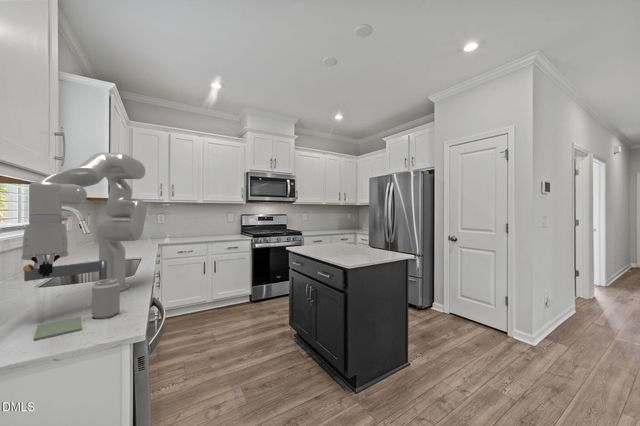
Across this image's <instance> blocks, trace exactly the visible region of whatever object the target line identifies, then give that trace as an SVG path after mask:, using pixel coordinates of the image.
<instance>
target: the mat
mask: <svg viewBox="0 0 640 426" xmlns="http://www.w3.org/2000/svg"><path fill="white" fill-rule="evenodd" d="M79 331H83V325H82V317H81V316H78V317H71V318H67V319H61V320H58V321H52V322H46V323H42V324H37V326H36V329H35V333H34V336H33V341H35V340H36V341H40V340H45V339H48V338H53V337H57V336H62V335H66V334H70V333H74V332H76V333H77V332H79Z"/></svg>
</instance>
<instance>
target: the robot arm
mask: <svg viewBox="0 0 640 426" xmlns="http://www.w3.org/2000/svg"><path fill="white" fill-rule="evenodd" d="M145 175H146V167H145V166H144V164H143V163H142V162H141V161H139V160H137V159H136V158H134V157H132V156H130V155H128V154H125V153H122V152H121V153H120V152H118V153H117V152H98V153H95V154H94V155H92V156H90V157H89V158H88V159H87V160H85V161H84V162H83V163H82V164H79V165H78V166H76V167H72V168H69V169H66V170H63V171H61V172H56V173H54V174H51V175H49V176H47V177H45V178H44V179H42V180H41V181H32V182H31V183H30V184H29V185H28V224H25V226H24V231H23V238H22V239H23V240H22V256H21V260H24V261H32V262H34V263H36V264H37V265H39V267H38V268H39V274H42V277H45V276H47V277H48V276H49V275H50V273H52V272H53V266H54V264H53V263H55V262H56V261H57V260H59V259H61V258H62V259H63V258H65V257H68V256H69V252H68V233H67V227H66V224H65V223H63V222H64V221H68V215H67V216H66V215H63V214H62V213H63V212H62V211H63V210H62V209H63V207H62V206H77V205H81V204H83V203H84V202H85V201H86V200H87V198H88V193H87V191H86V189H85V188H86V187H87V188H88V187H90V186H94V185H97V184H99V183H100V182H101V181H103V179H105V178H106V181H107V183H108V184H109V194H108V198H107V201H106V202H107V203H106V206H105V215H106V216H107V217H108V218H111V219H112V220H111V219H109V220H104V221H101V222H99V223H98V224H97V226H96V228H95V234H96V239H97V243H98V245H97V246H98V261H107V279H117V282H118V283H120V292H122V291H125V290H128V289H130V284H129V283H126V248H125V246H124V245H123V243H122V242H136V241H139V239H141V238H142V235H143V231H144V228H145V223H146V222H145V221H146V217H147V205H146V202H145V201H144V200H142V199H139V198H132V194H133V189H132V188H131V185H129V183H128V182H127V181H126V180H141V179H143V178H144V177H145ZM114 219H115V220H114ZM118 219H119V220H118ZM126 219H127V220H126ZM48 255H49V257H48V261H47V262H45V261H44V257H43V256H48Z"/></svg>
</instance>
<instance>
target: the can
mask: <svg viewBox="0 0 640 426" xmlns="http://www.w3.org/2000/svg"><path fill="white" fill-rule="evenodd" d="M120 292H121V291H120V283H118V282H117V279H105V280H99V279H98V280H96V281H94V285H93V286H91V316H92V317H94V318H95V319H107V318H111V317H113V316H115V315H117V314H118V313H119V312H120V311H121V310H120V309H121V308H120V307H121V301H120V300H121V299H120V298H121V297H120V294H121V293H120Z"/></svg>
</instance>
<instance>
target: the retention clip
mask: <svg viewBox="0 0 640 426" xmlns="http://www.w3.org/2000/svg"><path fill="white" fill-rule="evenodd" d="M22 270H23V280H24V282H29V281H36V280H37V281H38V280H45V279H46V280H47V279H52V278H60V277H69V276H75V275H81V274H91V273H96V272H98V281H99V280H105V279H107V261H99V260H97V261H90V262H80V263H71V264H70V263H69V264H64V265H63V264H61V265H53V272H52V273H50V275H49V276H48V277H47V276H45V277H42V274H39V267H35V265H33V264H30V263H29V264H26V265H24V266H23V267H22Z"/></svg>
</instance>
